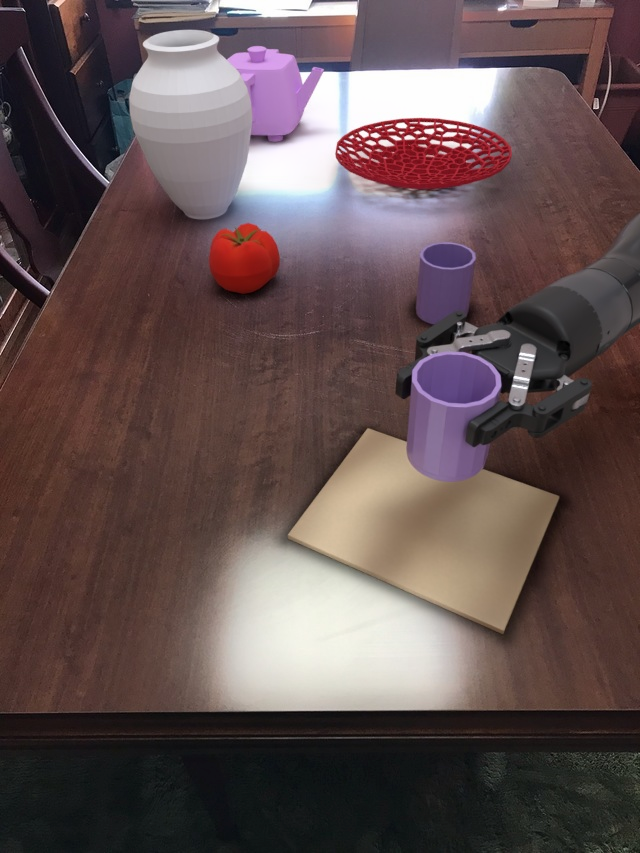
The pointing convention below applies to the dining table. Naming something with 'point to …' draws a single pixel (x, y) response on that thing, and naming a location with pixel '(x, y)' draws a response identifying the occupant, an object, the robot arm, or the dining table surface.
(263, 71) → the teapot
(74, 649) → the dining table surface
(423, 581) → the mat
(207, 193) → the vase
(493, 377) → the lavender cup
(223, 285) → the tomato
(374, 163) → the bowl
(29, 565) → the dining table surface
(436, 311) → the lilac cup
